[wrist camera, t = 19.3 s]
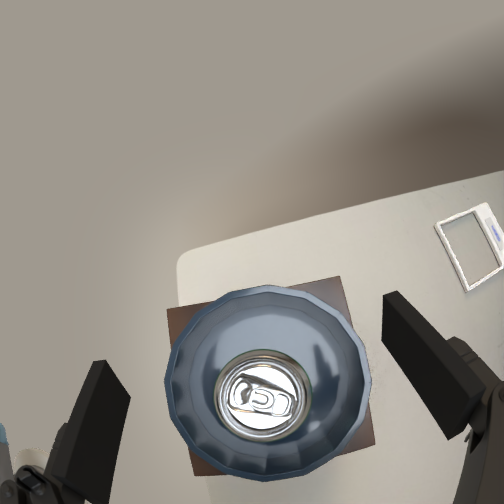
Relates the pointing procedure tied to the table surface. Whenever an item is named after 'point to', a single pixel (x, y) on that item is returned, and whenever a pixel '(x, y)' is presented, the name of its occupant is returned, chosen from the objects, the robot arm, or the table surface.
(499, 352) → the table surface
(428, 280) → the table surface
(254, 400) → the soda can
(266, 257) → the table surface
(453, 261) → the photo frame
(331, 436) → the bowl
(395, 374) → the table surface
